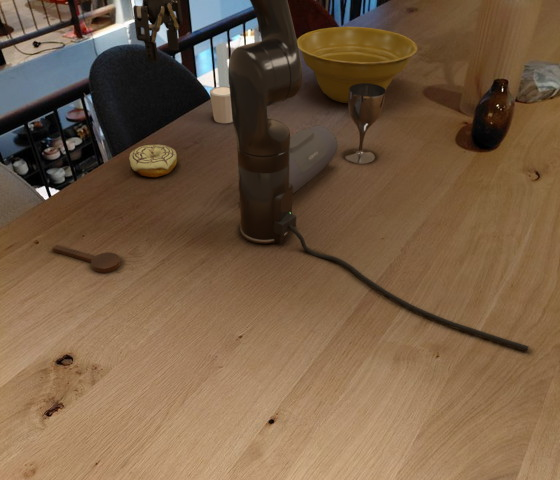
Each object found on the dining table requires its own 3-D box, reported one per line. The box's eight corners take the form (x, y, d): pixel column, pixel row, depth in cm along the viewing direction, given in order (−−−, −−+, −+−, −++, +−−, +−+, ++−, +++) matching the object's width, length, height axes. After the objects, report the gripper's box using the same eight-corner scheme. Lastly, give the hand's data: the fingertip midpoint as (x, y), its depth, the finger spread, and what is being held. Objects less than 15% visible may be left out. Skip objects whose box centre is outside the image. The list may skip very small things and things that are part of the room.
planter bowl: (333, 67, 177) (337, 18, 167) (428, 91, 164) (437, 39, 154) (272, 99, 159) (272, 45, 149) (373, 128, 146) (380, 71, 136)
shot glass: (234, 125, 146) (232, 97, 141) (208, 122, 147) (206, 94, 142) (240, 114, 151) (239, 87, 146) (215, 112, 152) (213, 84, 147)
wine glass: (338, 160, 133) (344, 93, 122) (348, 146, 138) (355, 81, 127) (371, 166, 131) (380, 99, 120) (380, 152, 136) (389, 86, 125)
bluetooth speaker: (248, 153, 113) (249, 199, 120) (289, 165, 110) (287, 211, 117) (304, 114, 126) (302, 158, 134) (341, 124, 123) (338, 168, 130)
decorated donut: (128, 179, 125) (125, 163, 123) (134, 157, 133) (131, 141, 130) (176, 178, 126) (173, 162, 123) (179, 156, 133) (177, 141, 131)
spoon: (126, 260, 104) (125, 256, 103) (110, 275, 101) (108, 271, 100) (63, 243, 108) (62, 238, 107) (46, 257, 105) (44, 252, 104)
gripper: (149, -27, 103) (161, 69, 115) (187, -42, 113) (195, 48, 124) (114, -32, 105) (130, 63, 117) (154, -46, 114) (165, 43, 126)
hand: (163, 55), depth 121 cm, fingers open, 8 cm apart
